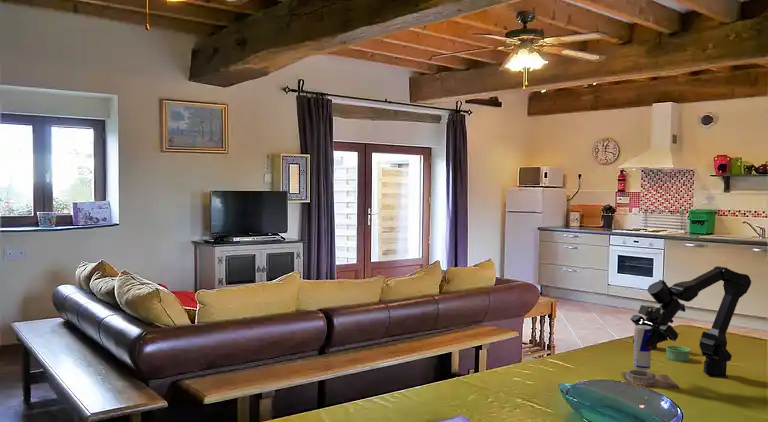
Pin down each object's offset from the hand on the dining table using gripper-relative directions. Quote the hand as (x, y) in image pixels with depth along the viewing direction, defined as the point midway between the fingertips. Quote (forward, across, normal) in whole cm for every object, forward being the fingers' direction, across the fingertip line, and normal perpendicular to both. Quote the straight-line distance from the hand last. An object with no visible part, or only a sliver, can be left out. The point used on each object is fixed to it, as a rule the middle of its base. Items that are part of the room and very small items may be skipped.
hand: (639, 345), depth 222 cm
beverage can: (+5, 0, +7) cm, 9 cm away
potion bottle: (-16, -39, +35) cm, 55 cm away
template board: (+7, +1, +12) cm, 14 cm away
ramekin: (-16, -21, +35) cm, 44 cm away
